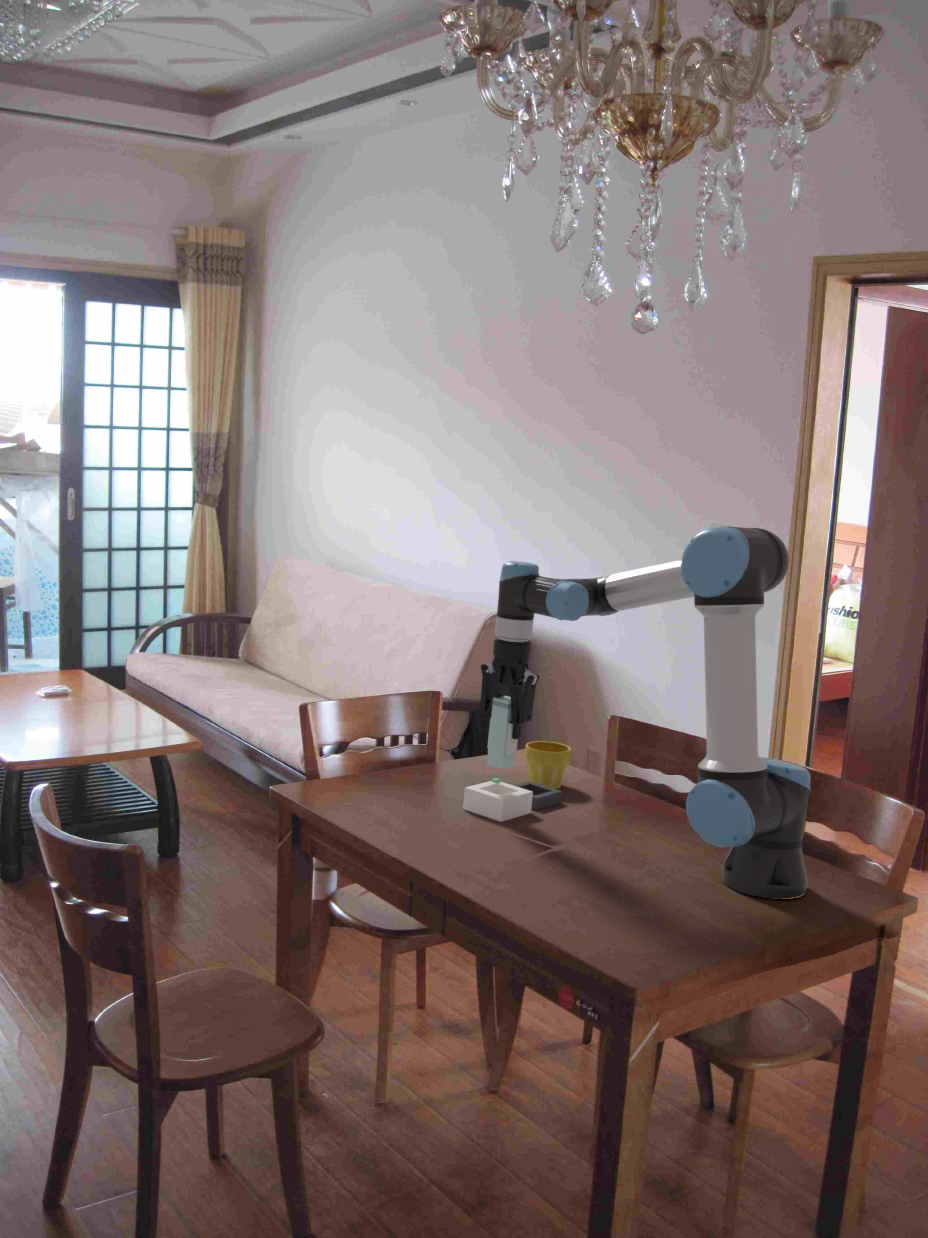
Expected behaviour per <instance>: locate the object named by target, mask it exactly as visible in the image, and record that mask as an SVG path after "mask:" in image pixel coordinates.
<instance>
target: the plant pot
mask: <svg viewBox="0 0 928 1238" xmlns="http://www.w3.org/2000/svg"><path fill="white" fill-rule="evenodd" d="M571 756H572V748H571V747H570V746H569V745H568V744H567V745H566V744H564V743H562V742H561V743H559V742H555V741H545V740H535V741H529V742H527V743H525V750H524V759H525V761H527V767H528V775H529V781H530V782H533V783H537V784H540V785H543V786H547V787H550V788H553V789H556V790H558V789H560V788H561V786H562V782H563V780H564V776H565V772H566V770H567V765H570V763H571V758H572V757H571Z"/></svg>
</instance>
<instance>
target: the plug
mask: <svg viewBox="0 0 928 1238" xmlns="http://www.w3.org/2000/svg"><path fill="white" fill-rule="evenodd" d="M492 705H493V706H492V716H491V726H490V736H489V735H488V737H489V746H488V745H487V747H488V750H487V758H486V765H487V766H490V767H494V768H496V769H500V770H505V769H508V768H514V767H515V760H516V753H515V754H510V755H507V754H505V753H506V743H507V733H508V723H510V721H512V713H511V697H510V696H508V695H504V696H502V697H495V698H493V702H492Z"/></svg>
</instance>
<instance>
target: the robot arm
mask: <svg viewBox="0 0 928 1238" xmlns="http://www.w3.org/2000/svg"><path fill="white" fill-rule="evenodd" d="M789 556H790V554H789V552H788V549H787V547H786V545H785V543H784V541H783V540H782V539H781V538H780V537H779V536H778V535H777V534H775V533H774V532H772V531H770V530H767V529H765V528H760V527H759V528H758V527H757V528H756V527H741V526H739V527H738V526H725V525H723V526H716V527H710V528H706V529H704V530H701V531H699V532H698V533H696V534H695V535H694V536H693V537H692V539H691V540H690V541H689V542H688V543H687V544H686V546H685V548H684V550H683V552H682V556H681V558H679V559H675V560H671V561H667V562H662V563H657V564H654V565H653V564H652V565H649V566H643V567H640V568H639V567H638V568H635V569H631V570H627V571H621V572H617V573H614V574H607V575H603V576H600V577H599V576H598V577H593V578H592V577H591V578H553V577H546V576H542V575H540V573H539V572H540V570H539V569H540V567H539V566H538V564H536V563H532V562H527V561H526V562H525V561H515V560H513V561H512V560H510V561H509V560H508V561H505V562H504V563H503V564H502V566H501V572H500V576H499V581H498V584H499V586H498V599H497V610H496V611H497V612H496V619H495V628H494V635H495V636H496V637H495V638H494V639H493V649H492V654H493V656H494V657H493V659H492V662H491V663H483V664H481V665H480V670H481V675H482V676H481V677H482V678H481V680H482V681H481V692H480V693H481V694H480V708H479V709H480V712H482V713H484V714H485V715H486V716H487V722H486V732H488V736H487V737H488V739H487V747H486V748H487V749H488V746H489V736H490V726H491V716H492V706H493V705H492V702H493V698H495V697H502V696H505V691H506V688H507V686H508V690H509V693H510V694H509V695H510V696H509V697H511V713H512V721H510V723H508V733H507V743H506V753H505V754H507V755H510V754H515V755H516V754H517V749H518V741H519V739H520V740H521V737H522V729H523V723H528V722H531V721H532V716H533V711H534V710H533V708H534V702H535V696H536V695H535V694H536V687H537V684H538V682H539V680H540V675H539V674H534V673H532V672H531V671H530V668H529V664H528V663H529V660H530V658H531V651H532V650H531V649H532V642H531V641H530V640H531V639H532V638H533V629H534V628H533V627H534V620H535V615H540V616H545V617H550V618H553V619H556V620H558V621H570V622H575V621H578V620H579V619H580V618H582V617H589V616H593V617H594V616H599V617H605V616H610V615H614V614H617V613H618V612H621V611H626V610H631V609H632V610H633V609H638V608H641V607H649V606H653V605H659V604H663V603H668V602H673V601H674V602H675V601H679V600H684V599H689V598H694V602H693V603H694V608H695V609H696V610H697V611H698V613H700V614H701V615H702V617H703V641H704V642H703V644H704V687H705V688H704V689H705V693H704V695H705V726H706V727H705V731H706V732H705V733H706V735H705V737H706V755H705V757H704V758H703V759H702V760H701V761H700V762H699V763H698V764H697V765H698V766H697V779H698V780H697V783H696V784H695V785H694V786H693V788H692V789H691V790H690V791H689V792H688V794H687V797H686V801H685V802H686V803H685V810H686V811H685V812H686V815H687V819H688V822H689V824H690V826H691V828H692V829H693V831H694V832H695V833H697V835H699V837H700V838H701V839H702V840H703V841H704V842H706V843H707V844H709V845H711V846H715V847H717V848H718V847H719V848H730V849H729V851H728V853H727V856H726V857H725V859H724V861H723V863H722V867H721V875H720V879H721V881H722V883H723V884H725V885H726V886H727V887H729V888H730V889H733V890H735V891H737V892H739V893H741V892H742V894H744V893H745V894H744V895H748V894H749V895H748V896H751V895H753V896H752V897H755V896H758V897H757V898H760V897H766V898H778V899H780V898H781V899H782V898H791V897H797V896H800V895H802V894H803V893H805V892H806V893H807V890H808V889H807V888H808V876H807V869H806V866H805V860H804V856H803V839H804V834H805V827H806V819H807V813H808V812H807V811H808V805H809V798H810V797H809V796H810V792H811V786H810V785H811V773H810V771H809V770H808V769H807V768H805V767H803V766H801V765H799V764H798V765H797V764H795V763H792V762H789V761H784V760H780V759H776V758H770V757H765V756H764V757H763V756H760V755H759V744H758V743H759V741H758V740H759V738H758V737H759V736H758V694H757V692H758V691H757V688H758V687H757V645H756V616H757V614H758V613H759V612H760V611H761V610H762V609H763V607H764V606H765V593H767V592H771V591H772V590H774V589H775V588H777V587H778V586H779V585H780V584H781V583H782V582H783V580H784V579H785V577H786V576H787V574H788V571H789V565H790V557H789ZM806 889H807V890H806Z"/></svg>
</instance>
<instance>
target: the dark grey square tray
mask: <svg viewBox="0 0 928 1238" xmlns="http://www.w3.org/2000/svg"><path fill="white" fill-rule="evenodd" d="M512 785H513V786H516V787H520V788H523V789H526V790H529V791H533V796H532V807H531V810H534V811H538V810H542V809H545V808H548V807H551V806H555V805H559V804H561V803H562V800H563V797H562V796H563V791H562V790H559V789H553V788H550V787H547V786H543V785H540V784H537V783H533V782H530V780H527V781H525V782H521V783H516V784H512Z"/></svg>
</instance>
